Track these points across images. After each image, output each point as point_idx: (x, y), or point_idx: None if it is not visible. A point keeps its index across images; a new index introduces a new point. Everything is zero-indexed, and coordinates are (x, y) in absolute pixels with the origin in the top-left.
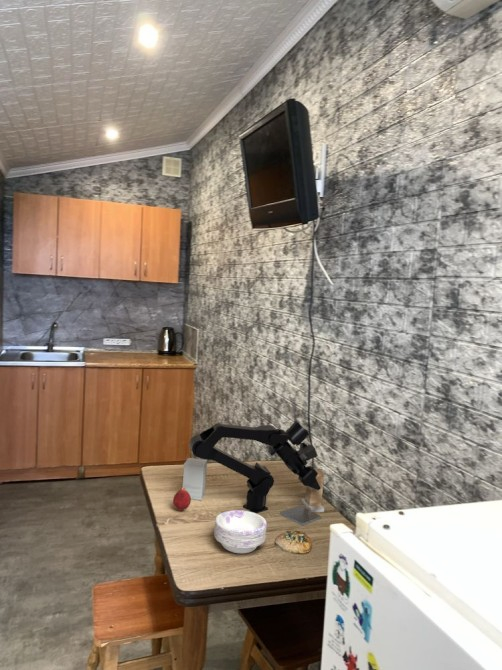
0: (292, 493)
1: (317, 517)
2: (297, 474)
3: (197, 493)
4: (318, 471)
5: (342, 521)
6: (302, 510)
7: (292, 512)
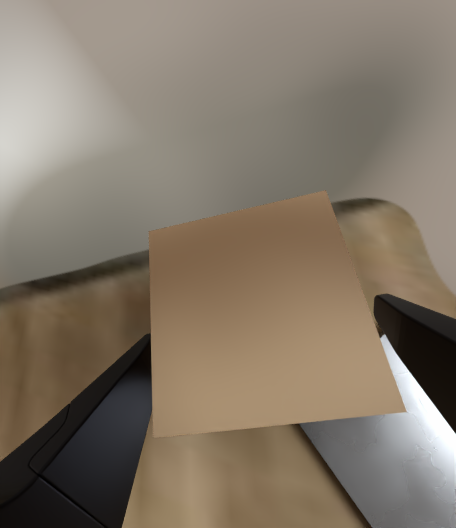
0: None
1: None
2: (123, 519)
3: None
4: (270, 267)
5: (403, 226)
6: None
7: (412, 499)
